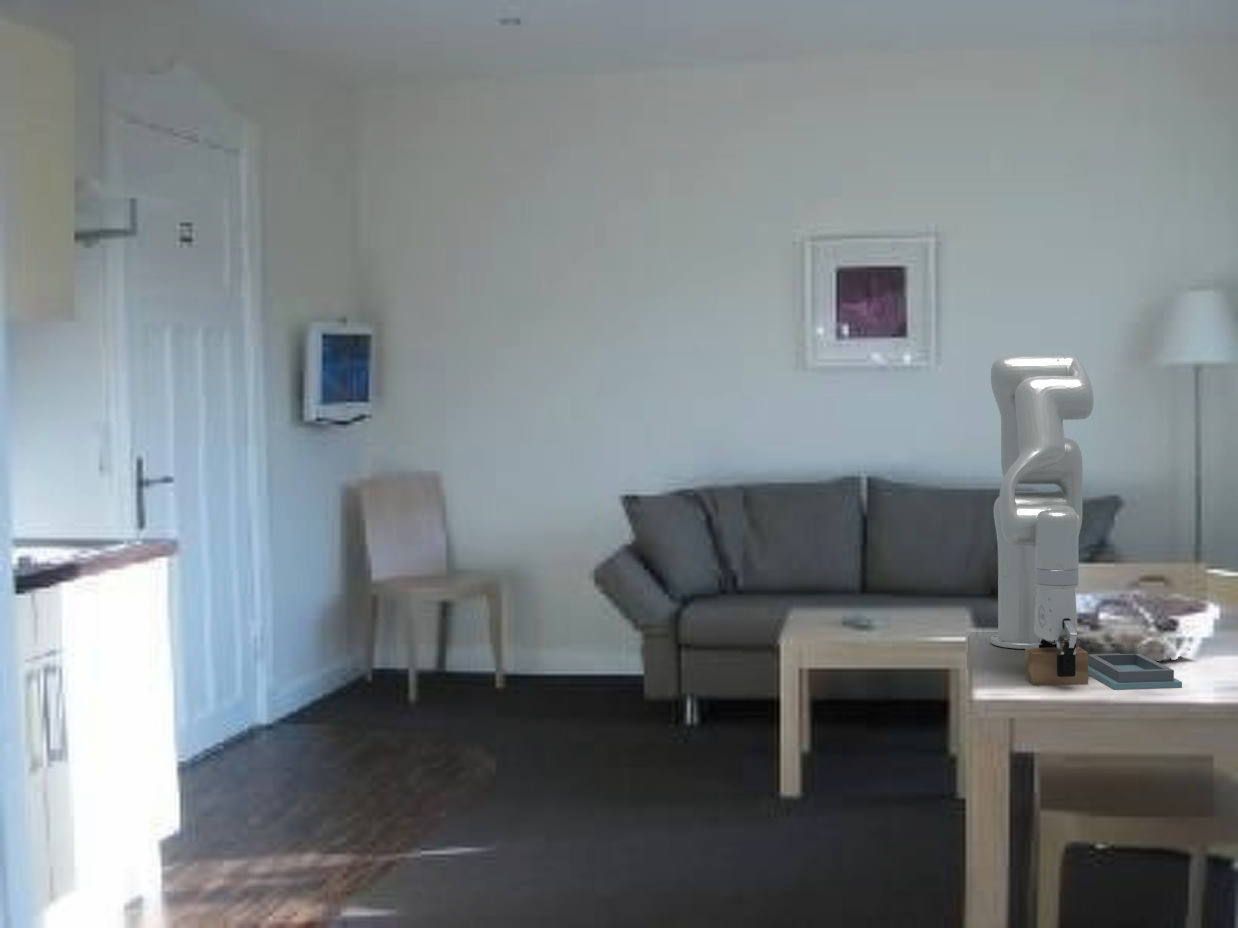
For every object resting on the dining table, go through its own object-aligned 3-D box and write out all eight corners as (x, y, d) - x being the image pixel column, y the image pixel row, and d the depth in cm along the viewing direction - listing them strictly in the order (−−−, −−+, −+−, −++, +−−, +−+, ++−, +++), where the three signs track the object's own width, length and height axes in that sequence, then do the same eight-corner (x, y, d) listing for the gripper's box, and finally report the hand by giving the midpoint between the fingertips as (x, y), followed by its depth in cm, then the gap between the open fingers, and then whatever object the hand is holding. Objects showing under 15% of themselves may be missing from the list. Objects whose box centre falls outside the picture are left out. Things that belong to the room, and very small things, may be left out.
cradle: (1079, 669, 284) (1079, 653, 283) (1143, 667, 284) (1143, 651, 284) (1113, 689, 267) (1114, 672, 266) (1181, 687, 267) (1182, 670, 267)
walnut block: (1025, 680, 276) (1025, 648, 276) (1079, 678, 276) (1079, 646, 276) (1033, 686, 271) (1033, 653, 271) (1088, 684, 271) (1088, 652, 271)
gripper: (1021, 572, 281) (1021, 662, 282) (1052, 585, 263) (1052, 681, 265) (1060, 571, 281) (1060, 661, 282) (1094, 584, 264) (1094, 680, 265)
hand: (1056, 670), depth 273 cm, fingers open, 9 cm apart
